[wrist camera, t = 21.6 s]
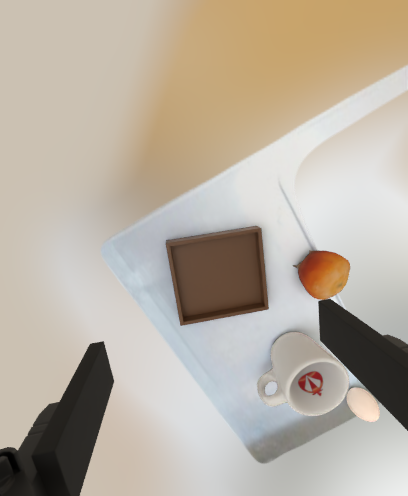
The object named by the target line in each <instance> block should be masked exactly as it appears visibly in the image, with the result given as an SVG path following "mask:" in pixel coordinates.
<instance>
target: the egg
mask: <svg viewBox="0 0 408 496" xmlns="http://www.w3.org/2000/svg"><path fill="white" fill-rule="evenodd" d="M347 403H348V406H349V407H350V409H351V410H352V411H353V413H354V414H355V415H357V416H358V417H359V418H361V419H363V420H365V421H368V422H374V421H376V420H378V418H379V415H380V411H379V407H378V404H377V402H376V400H375V399H374V398H373V396H372V395H371V394H370V393H369V392H367V391H366V390H364V389H362V388H351V389H350V390H349V391H348V393H347Z"/></svg>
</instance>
